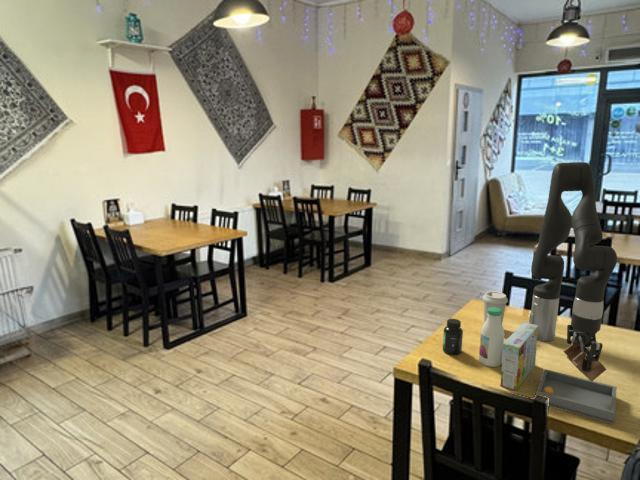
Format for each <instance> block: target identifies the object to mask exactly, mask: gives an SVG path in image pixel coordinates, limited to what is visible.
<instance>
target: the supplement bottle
mask: <svg viewBox="0 0 640 480" xmlns="http://www.w3.org/2000/svg"><path fill="white" fill-rule="evenodd" d="M461 323H462V321H461V320H460V319H457V318H449V319H447V320H446V326H445V327H444V328H443V335H442V351H443V352H444V353H445V354H447V355H450V356H458V355H460V354H461V353H462V352H463V351H462V350H463V339H464V338H463V337H464V330H463V329H462V327H461Z"/></svg>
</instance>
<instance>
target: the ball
mask: <svg viewBox="0 0 640 480" xmlns="http://www.w3.org/2000/svg"><path fill="white" fill-rule="evenodd" d="M543 392H545V393H549V394H552V395H554V390H553V389H552V388H551V387H545V388H544V389H543Z"/></svg>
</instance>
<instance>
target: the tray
mask: <svg viewBox="0 0 640 480" xmlns="http://www.w3.org/2000/svg"><path fill="white" fill-rule="evenodd" d="M545 387H551V388H552V389H553V390H554V395H552V394H549V393H545V392H543V389H544V388H545ZM617 390H618V389H617V386H614V385H611V384H607V383H602V382H598V381H595V380H593V381H590V380H589V379H588V378H583V377H578V376H574V375H569V374H566V373H563V372H558V371H553V370H550V369H546V368H544V369H543V372H542V376H541V378H540V381H539V384H538V387H537V389H536V394H535V396H536V395H537V394H538V395H542V396H546V397H548V398H549V406H548V407H551V408H554V407H556V408H555V409H557V408H559V409H558V410H561V409H562V410H561V411H564V410H566V411H565V412H568V411H570V412H569V413H571V412H573V413H572V414H575V413H577V414H576V415H578V414H579V416H582V415H583V417H585V416H586V418H589V419H593V420H596V421H599V420H600V422H604V423H605V424H606V423H607V424H610V425H614V423H615V418H616V417H615V416H616V404H617V401H616V400H617Z"/></svg>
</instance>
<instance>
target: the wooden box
mask: <svg viewBox="0 0 640 480" xmlns="http://www.w3.org/2000/svg"><path fill="white" fill-rule="evenodd" d="M576 343H577V341H576ZM585 349H588V347H585ZM562 352H563V353H564V354H565V355H566V359H567V360H568V361H570V362H571V364H572V365H573V366H574V367H575V368H576V369H577V370H578V371H579V372H580V373H581V374H583V376H585V377H586V379H587V380H590V381H595V380H596V379H597V378H599V376H600V375H602V374H604V373H605V372H606V371H607V370H608V369H607V368H606V367H605V366H604V364H603V363H602V362H601V361H600V360H598V361H592V367H591V371H589V372H584V371H583V370H582V365H583V359H584V352H582V351H581V345H580V344H578V343H577V344H573V343H572V344H571V345H570V344H569V345H568V346H567V348H565V349H564V350H562ZM588 355H589V352H587V356H588ZM594 357H595V355H594Z"/></svg>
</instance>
